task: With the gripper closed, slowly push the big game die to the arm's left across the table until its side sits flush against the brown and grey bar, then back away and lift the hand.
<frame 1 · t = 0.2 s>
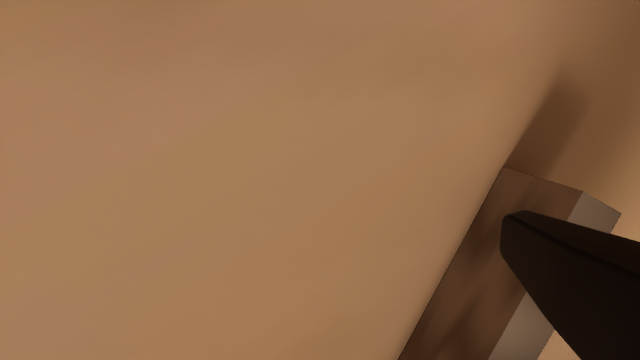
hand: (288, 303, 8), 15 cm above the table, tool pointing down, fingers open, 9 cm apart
brown and grey bar: (438, 325, 28), on the table
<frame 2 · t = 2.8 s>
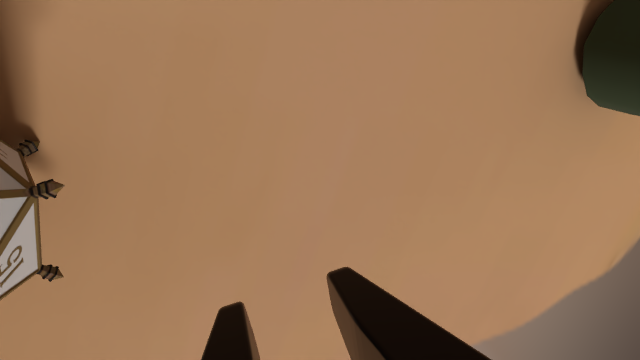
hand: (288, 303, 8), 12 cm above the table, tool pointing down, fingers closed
character mug: (615, 45, 23), on the table
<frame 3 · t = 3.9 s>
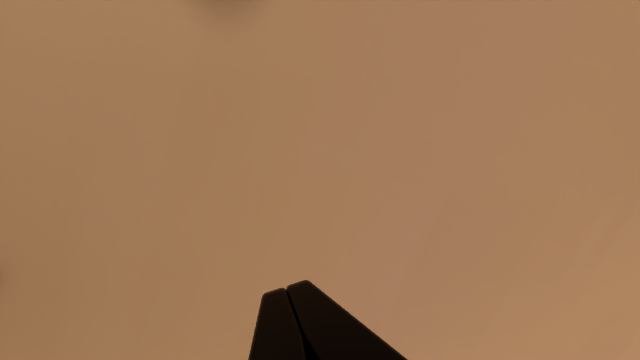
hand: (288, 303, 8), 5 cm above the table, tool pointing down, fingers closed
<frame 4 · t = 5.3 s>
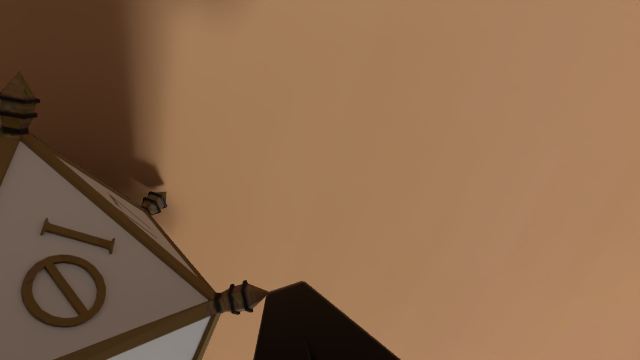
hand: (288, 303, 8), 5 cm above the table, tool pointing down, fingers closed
game die: (50, 225, 11), on the table, touching gripper
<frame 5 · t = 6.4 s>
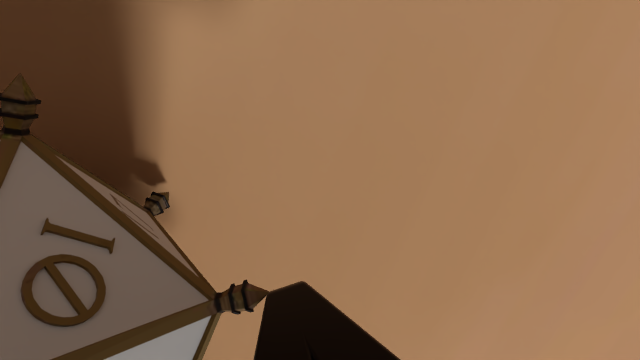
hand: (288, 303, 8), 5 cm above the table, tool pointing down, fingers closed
game die: (54, 226, 11), on the table, touching gripper
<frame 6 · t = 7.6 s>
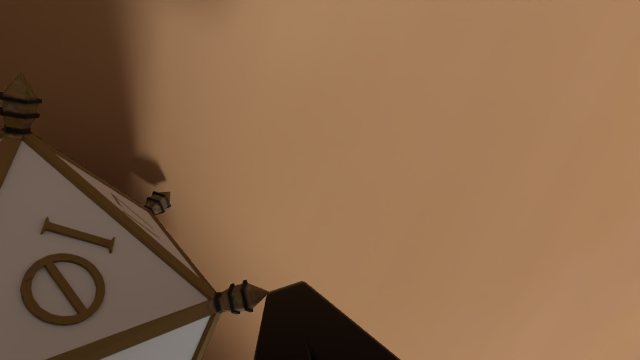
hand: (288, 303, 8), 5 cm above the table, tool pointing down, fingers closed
game die: (55, 225, 11), on the table, touching gripper
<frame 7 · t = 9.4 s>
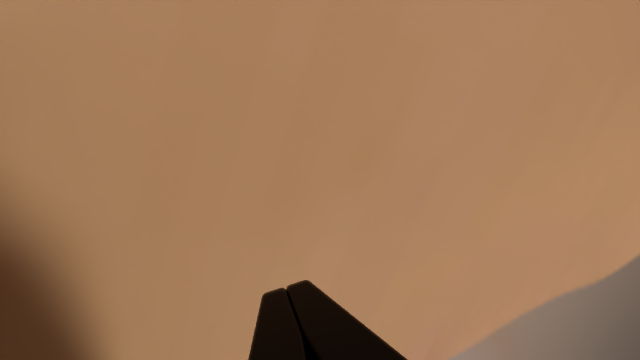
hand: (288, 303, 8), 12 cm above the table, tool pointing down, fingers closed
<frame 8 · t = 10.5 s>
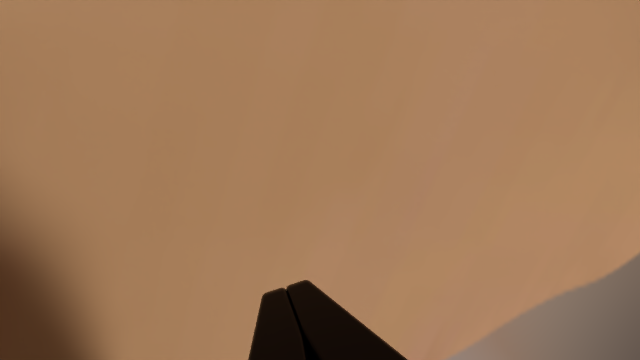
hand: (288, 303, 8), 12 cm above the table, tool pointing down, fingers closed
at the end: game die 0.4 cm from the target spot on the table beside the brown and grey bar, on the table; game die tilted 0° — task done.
